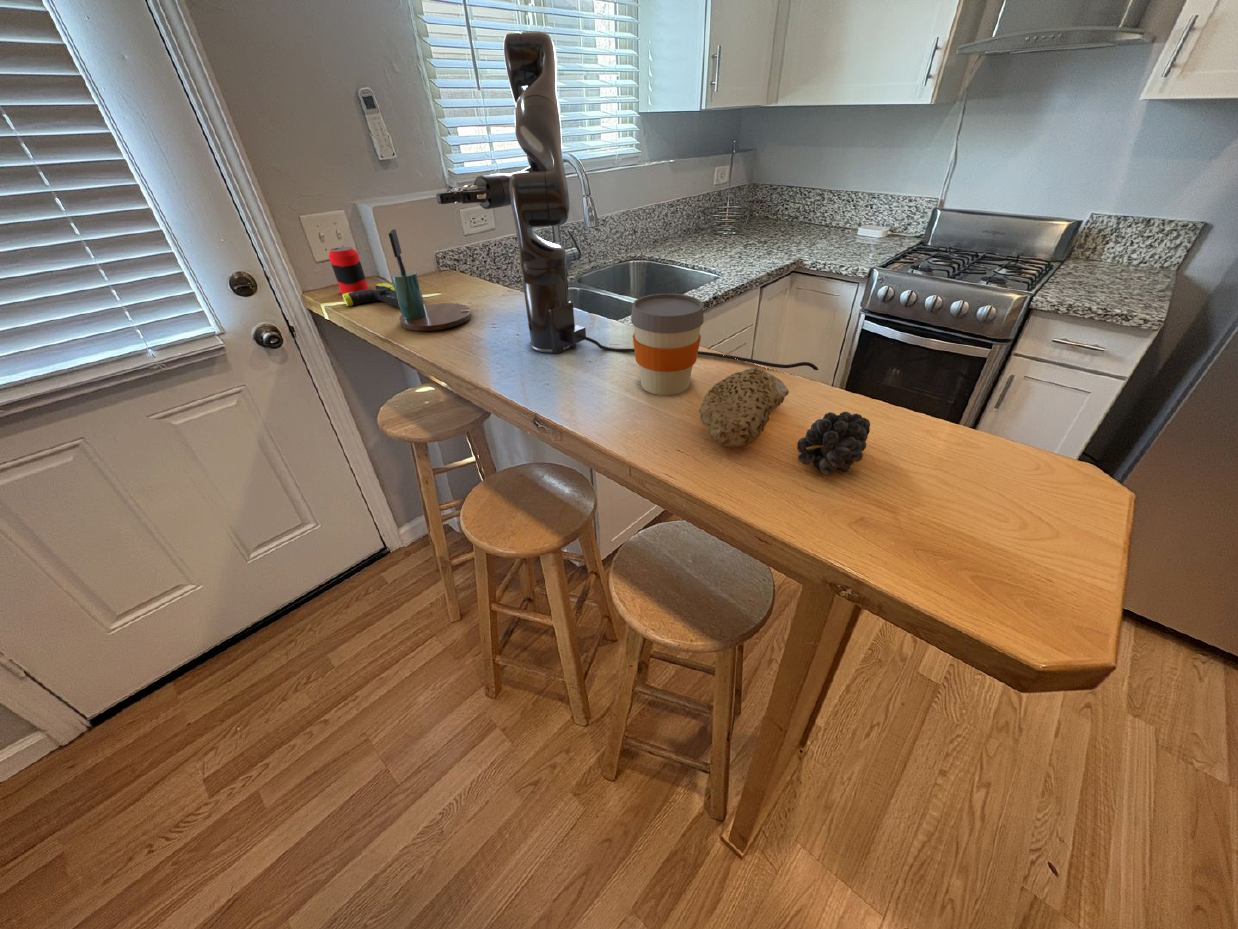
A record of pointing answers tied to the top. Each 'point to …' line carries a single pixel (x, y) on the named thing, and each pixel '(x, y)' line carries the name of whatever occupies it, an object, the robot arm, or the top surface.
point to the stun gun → (372, 295)
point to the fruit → (834, 442)
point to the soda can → (348, 269)
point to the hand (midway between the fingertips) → (438, 198)
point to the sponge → (741, 406)
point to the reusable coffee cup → (666, 340)
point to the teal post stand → (421, 300)
